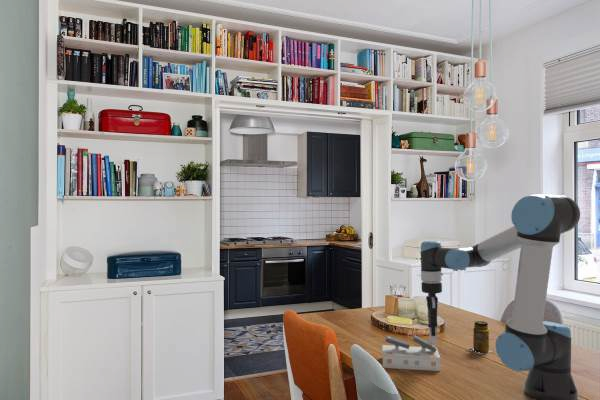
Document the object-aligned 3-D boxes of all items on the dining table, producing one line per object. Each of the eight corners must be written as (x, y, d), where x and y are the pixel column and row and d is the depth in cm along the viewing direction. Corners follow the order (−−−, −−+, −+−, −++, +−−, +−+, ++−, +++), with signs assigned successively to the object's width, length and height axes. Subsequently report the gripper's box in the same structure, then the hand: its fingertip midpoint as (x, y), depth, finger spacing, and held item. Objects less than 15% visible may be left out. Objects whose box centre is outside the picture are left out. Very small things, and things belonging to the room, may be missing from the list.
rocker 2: (434, 352, 179) (436, 349, 179) (413, 340, 180) (415, 337, 180) (433, 349, 183) (435, 345, 183) (412, 337, 185) (414, 334, 185)
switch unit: (440, 371, 175) (440, 352, 175) (382, 367, 178) (382, 349, 178) (436, 360, 187) (436, 342, 187) (382, 357, 190) (382, 340, 190)
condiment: (493, 351, 199) (493, 322, 199) (480, 355, 194) (480, 325, 194) (478, 347, 205) (478, 319, 205) (465, 350, 200) (465, 322, 200)
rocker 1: (408, 349, 181) (409, 345, 181) (385, 341, 182) (386, 337, 182) (408, 345, 185) (409, 341, 185) (385, 338, 186) (386, 334, 186)
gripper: (443, 284, 175) (445, 349, 174) (439, 279, 187) (441, 339, 187) (422, 284, 176) (424, 348, 176) (420, 279, 189) (421, 338, 188)
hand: (433, 343), depth 181 cm, fingers closed
